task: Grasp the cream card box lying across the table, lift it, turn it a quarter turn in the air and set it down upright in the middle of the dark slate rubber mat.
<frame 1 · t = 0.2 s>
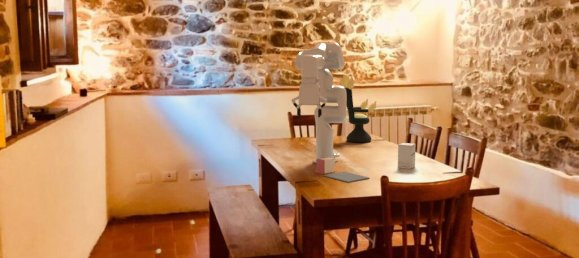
hand: (309, 116, 296), 31 cm above the table, tool pointing down, fingers open, 9 cm apart
mat: (346, 177, 303), on the table
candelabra: (356, 141, 414), on the table
supplement box: (406, 167, 328), on the table
card box: (325, 172, 316), on the table
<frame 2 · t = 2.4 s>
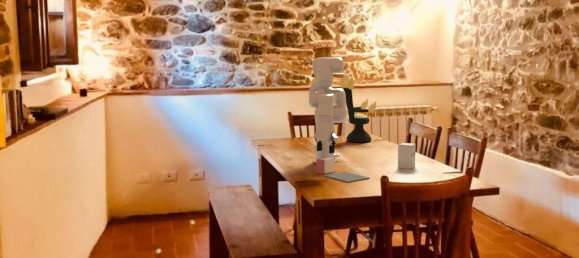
hand: (325, 152, 314), 11 cm above the table, tool pointing down, fingers open, 9 cm apart
nothing on the table moved.
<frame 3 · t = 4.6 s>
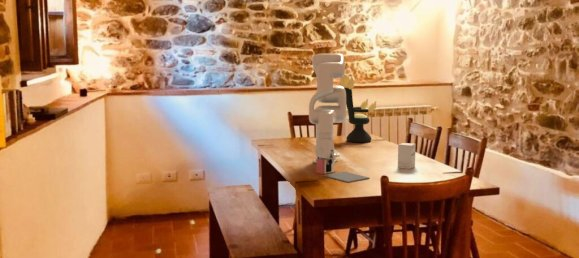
hand: (325, 170, 316), 1 cm above the table, tool pointing down, fingers closed on card box, 4 cm apart
card box: (325, 172, 316), on the table, touching gripper
everything else where it was.
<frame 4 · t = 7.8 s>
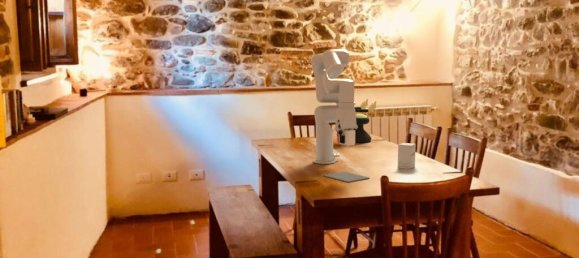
hand: (346, 142, 301), 18 cm above the table, tool pointing down, fingers closed on card box, 4 cm apart
card box: (346, 144, 301), point 17 cm above the table, touching gripper
everything else where it was.
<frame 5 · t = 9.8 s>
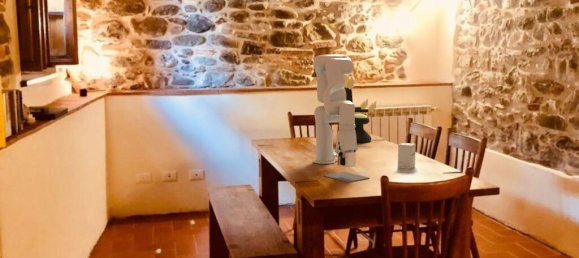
hand: (346, 164, 302), 7 cm above the table, tool pointing down, fingers closed on card box, 4 cm apart
card box: (346, 165, 302), point 6 cm above the table, touching gripper
everything else where it was.
when the fingers open (3 cm above the table, at t = 11.3 s): card box drops 2 cm, resting on mat.
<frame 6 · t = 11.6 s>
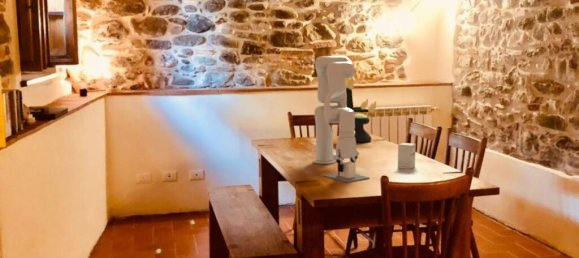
hand: (346, 170, 303), 4 cm above the table, tool pointing down, fingers open, 7 cm apart
card box: (346, 176, 304), point 1 cm above the table, touching mat
everything else where it was.
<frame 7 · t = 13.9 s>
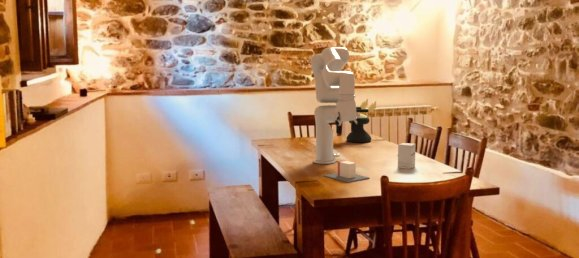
hand: (346, 132, 301), 22 cm above the table, tool pointing down, fingers open, 9 cm apart
nothing on the table moved.
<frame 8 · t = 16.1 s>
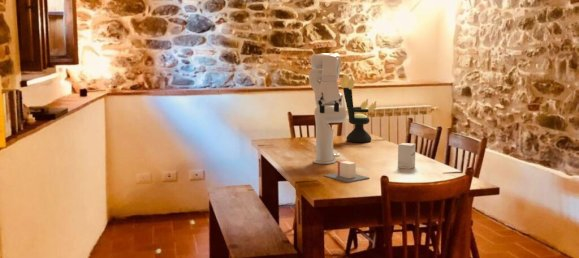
hand: (329, 112, 317), 30 cm above the table, tool pointing down, fingers open, 9 cm apart
nothing on the table moved.
at the end: card box inside the target area on the mat (0.2 cm from its centre), point 0.6 cm above the mat's base; card box tilted 0°; the gripper is holding nothing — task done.
